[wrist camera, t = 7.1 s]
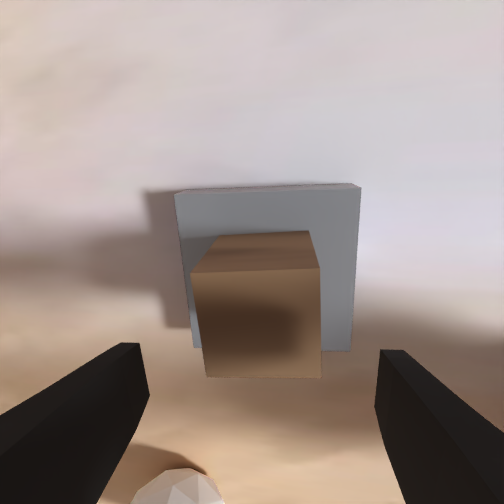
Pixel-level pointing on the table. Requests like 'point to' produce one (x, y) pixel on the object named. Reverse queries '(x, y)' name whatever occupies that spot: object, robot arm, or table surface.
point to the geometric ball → (179, 489)
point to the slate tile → (281, 220)
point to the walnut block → (259, 306)
